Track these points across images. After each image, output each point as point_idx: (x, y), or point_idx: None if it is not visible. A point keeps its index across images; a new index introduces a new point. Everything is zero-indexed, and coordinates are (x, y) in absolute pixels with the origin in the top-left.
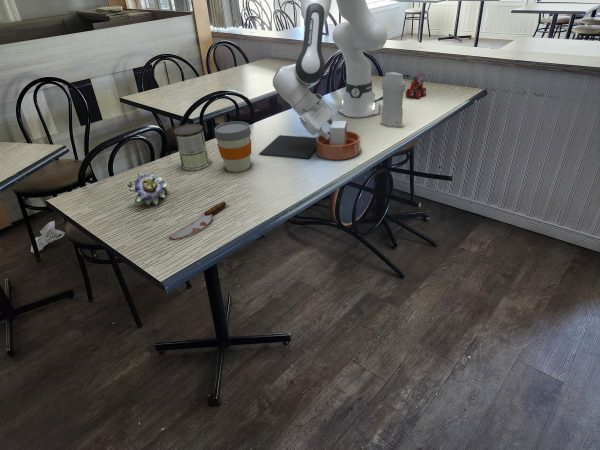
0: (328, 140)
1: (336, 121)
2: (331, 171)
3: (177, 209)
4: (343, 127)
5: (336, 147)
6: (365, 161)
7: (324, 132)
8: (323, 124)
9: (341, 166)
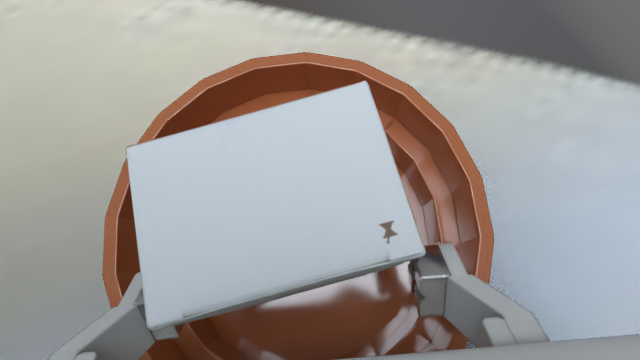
0: (219, 354)
1: (172, 260)
2: (606, 161)
3: None
4: (361, 94)
5: (473, 168)
6: (390, 36)
7: (500, 295)
8: (457, 352)
9: (512, 133)
